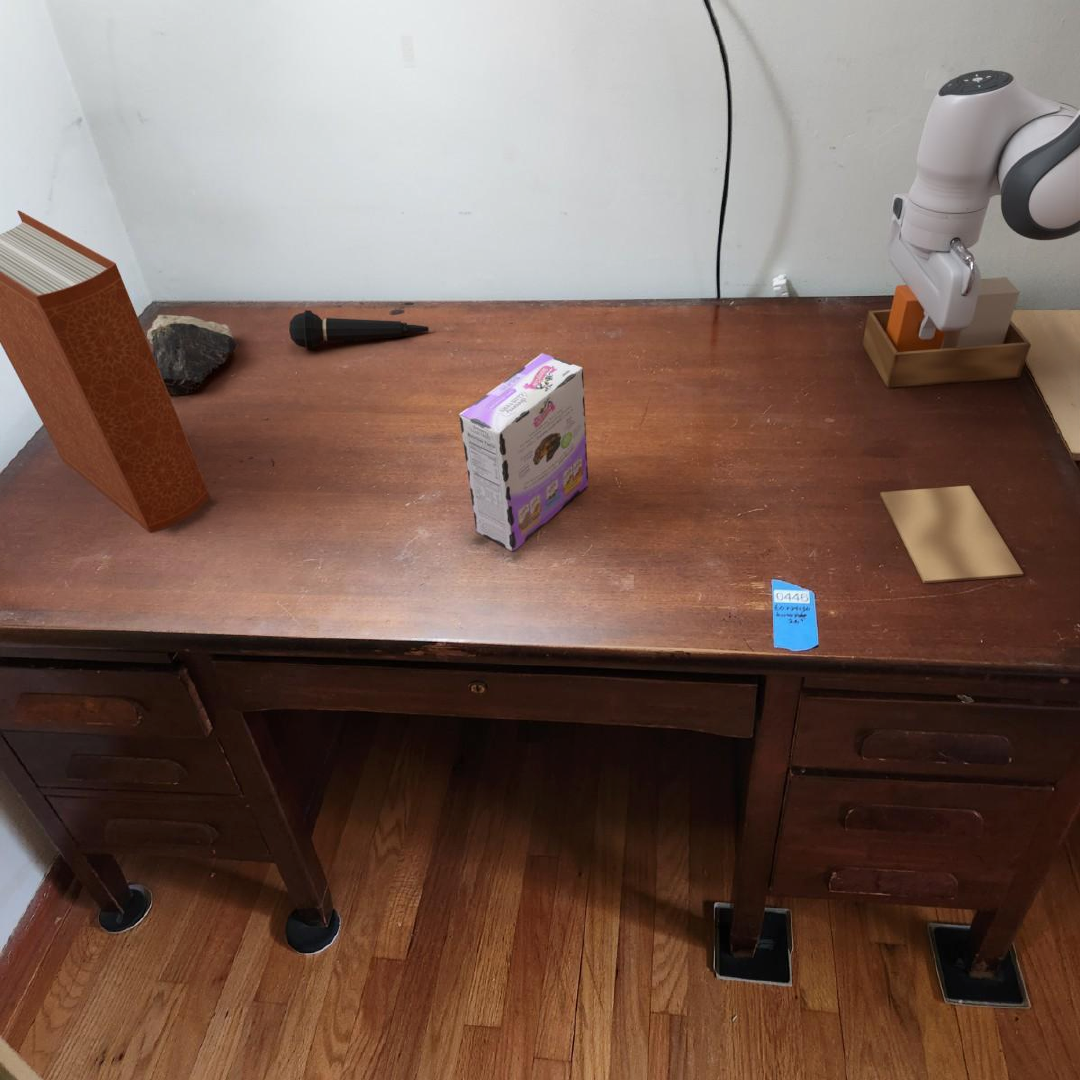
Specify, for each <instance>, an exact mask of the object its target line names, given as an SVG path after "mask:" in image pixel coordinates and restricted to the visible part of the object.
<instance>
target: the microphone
mask: <svg viewBox="0 0 1080 1080" xmlns="http://www.w3.org/2000/svg"><path fill="white" fill-rule="evenodd" d="M288 327H289V328H288V329H289V330H288V331H289V335H290V339H291V341H293V343H294V344H295V345H296V346H298V347H300V348H306V350H308V351H315V349H316V348H318V347H319V346H321V345H322V343H323V342H324V341H326V342H327V343H336V342H343V343H345V344H352V343H356V342H357V341H364V340H365V341H366V340H367V341H368V340H379V339H380V340H381V339H394V338H402V337H408V335H411V334H412V335H413V334H421V333H426V332H429V326H426V325H420V324H419V325H417V324H408V323H407V322H402V321H401V320H400V321H399V320H397V321H396V320H379V319H378V320H377V319H358V318H333V317H325V318H324V319H322V318H321V317H320V316H319V315H318V314H316V313H314V312H313V311H312V310H309V309H305V310H304V312H301V313H297V314H295V315H293V317H292V318H291V320H290V321H289V326H288Z"/></svg>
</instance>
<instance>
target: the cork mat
mask: <svg viewBox="0 0 1080 1080" xmlns="http://www.w3.org/2000/svg"><path fill="white" fill-rule="evenodd" d="M879 496H880V498H881V500H882V502H883V504H884V507H885V508H886V510H887V512H888V514H889V516H890V518H891V520H892V522H893V524H894V526H895V528H896V531H897V532H898V534H899V536H900V538H901V540H902V542H903V545H904V547H905V548H906V551H907V553H908V555H909V557H910V559H911V561H912V563H913V565H914V566H915V567H914V568H915V569H916V571H917V573H918V576H919V577H920V579H921V582H922V583H923V584H934V583H935V584H936V583H950V582H962V581H963V582H964V581H974V580H976V581H977V580H987V579H988V580H989V579H1002V578H1015V577H1023V576H1024V572H1023V570H1022V569H1021V567H1020V565H1019V564H1018V561H1016V559H1015V558H1014V555H1013V554H1012V552H1011V551H1010V549H1009V547H1008V545H1007V544H1006V543H1005V541H1004V539H1003V537H1002V536H1001V535H1000V533H999V531H998V529H997V528H996V527H995V525H994V523H993V521H992V520H991V518H990V516H989V515H988V513H987V512H986V510H985V508H984V506H983V505H982V504H981V502H980V500H979V498H978V497H977V495H976V493H975V491H973V489H972V487H971V485H958V486H944V487H932V488H931V487H930V488H919V489H904V490H892V491H880V492H879Z"/></svg>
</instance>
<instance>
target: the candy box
mask: <svg viewBox="0 0 1080 1080" xmlns="http://www.w3.org/2000/svg"><path fill="white" fill-rule="evenodd" d="M585 400H586V399H585V385H584V368H583V367H582V366H579V365H577V364H573V363H571V362H568V361H566V360H563V359H559V358H557V357H554V356H551V355H549V354H546V353H543V352H541V353H539V355H537V356H536V357H535V358H533V359H532V360H531V361H529V362H528V363H527V364H525V365H524V366H523V367H522V368H520V369H519V370H517V371H516V372H515V373H514V374H512V375H511V376H510V377H508V378H506V379H505V380H504V381H503V382H501V383H500V384H498V385H497V386H496V387H495V388H493V389H492V390H490V391H489V392H487V393H486V394H484V396H482V397H481V398H479V399H478V400H477V401H475V402H474V403H472V404H471V405H470V406H468V407H467V408H465V409H464V410H463V411H461V412H460V413H459V414H458V417H459V424H460V430H461V435H462V436H461V437H462V442H463V443H462V444H463V451H464V456H465V457H464V459H465V463H466V469H467V477H468V484H469V491H470V499H471V503H472V505H471V506H472V513H473V518H474V526H475V531H476V533H478V534H479V535H481V536H483V537H485V538H487V539H488V540H490V541H492V542H494V543H496V544H497V545H499V546H501V547H503V548H504V549H506V550H508V551H509V552H514V551H516V550H517V549H518V548H520V547H521V546H522V545H523V544H524V543H525V542H526V541H528V539H530V538H531V537H532V536H533V535H534V534H536V533H537V532H538V531H539V530H540V529H541V528H542V527H543V526H544V525H545V524H546V523H547V522H549V521H550V520H551V519H552V518H553V517H554V516H555V515H557V513H559V512H560V511H561V510H562V509H563V508H565V507H566V506H567V505H568V504H569V503H570V502H571V501H572V500H573V499H574V498H575V497H576V496H578V495H579V494H580V493H581V492H582V491H583V490H585V489H586V487H587V488H588V486H589V471H588V449H587V424H586V404H585Z"/></svg>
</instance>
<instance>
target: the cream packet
mask: <svg viewBox="0 0 1080 1080" xmlns="http://www.w3.org/2000/svg"><path fill="white" fill-rule="evenodd" d="M1019 295H1020V290H1019V289H1018V288H1017V287H1016V286H1015V285H1014V284H1013V283H1012V281H1010V279H1009V278H1008V277H1007V276H1003V277H989V278H980V287H979V293H978V298H977V303H976V308H975V312H974V316H973V320H972V323H971V324H970V325H969V326H968V327H967V328H966V329H963V330H954V331H946V332H945V336H944V339H943V343H942V346H941V349H946V348H959V347H972V346H985V345H998V344H1003V342H1004V339H1005V336H1006V333H1007V330H1008V327H1009V324H1010V321H1012V317H1013V315H1014V311H1015V308H1016V305H1017V302H1018V298H1019Z"/></svg>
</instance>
